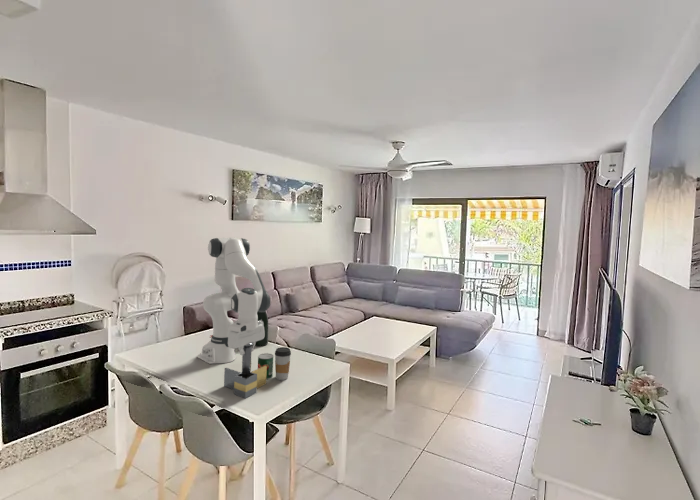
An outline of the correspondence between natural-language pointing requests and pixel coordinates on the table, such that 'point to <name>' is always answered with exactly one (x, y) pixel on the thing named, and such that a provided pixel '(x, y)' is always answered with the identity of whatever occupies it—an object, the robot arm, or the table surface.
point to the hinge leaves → (245, 381)
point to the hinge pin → (247, 359)
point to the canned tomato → (266, 363)
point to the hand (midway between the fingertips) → (246, 353)
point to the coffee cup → (282, 362)
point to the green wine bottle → (264, 318)
